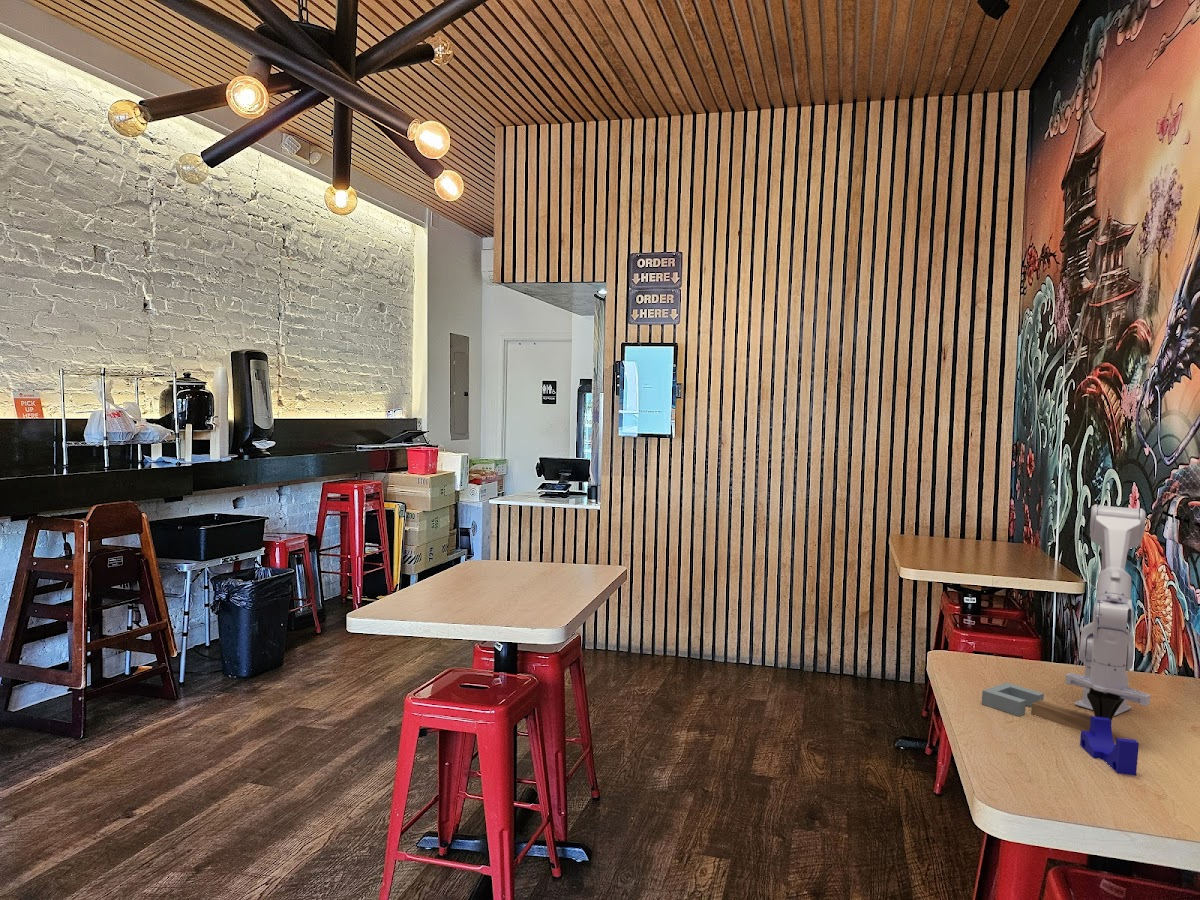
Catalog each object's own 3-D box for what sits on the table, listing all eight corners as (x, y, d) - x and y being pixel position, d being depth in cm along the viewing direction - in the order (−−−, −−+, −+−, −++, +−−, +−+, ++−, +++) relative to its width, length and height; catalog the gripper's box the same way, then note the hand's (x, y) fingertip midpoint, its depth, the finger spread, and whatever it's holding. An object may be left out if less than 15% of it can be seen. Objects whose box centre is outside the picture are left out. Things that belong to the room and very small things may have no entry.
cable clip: (1079, 745, 155) (1082, 715, 154) (1105, 748, 154) (1108, 717, 154) (1108, 773, 143) (1111, 740, 143) (1136, 776, 142) (1138, 743, 142)
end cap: (1005, 695, 181) (1006, 682, 181) (1042, 707, 175) (1043, 693, 175) (981, 704, 175) (982, 690, 175) (1019, 716, 168) (1020, 702, 168)
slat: (1039, 711, 172) (1040, 699, 172) (1101, 730, 163) (1102, 718, 163) (1030, 714, 170) (1031, 703, 170) (1093, 734, 160) (1094, 722, 160)
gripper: (1060, 655, 163) (1055, 721, 164) (1142, 676, 152) (1136, 747, 152) (1076, 650, 167) (1070, 714, 168) (1156, 670, 156) (1150, 739, 157)
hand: (1102, 729), depth 161 cm, fingers closed
